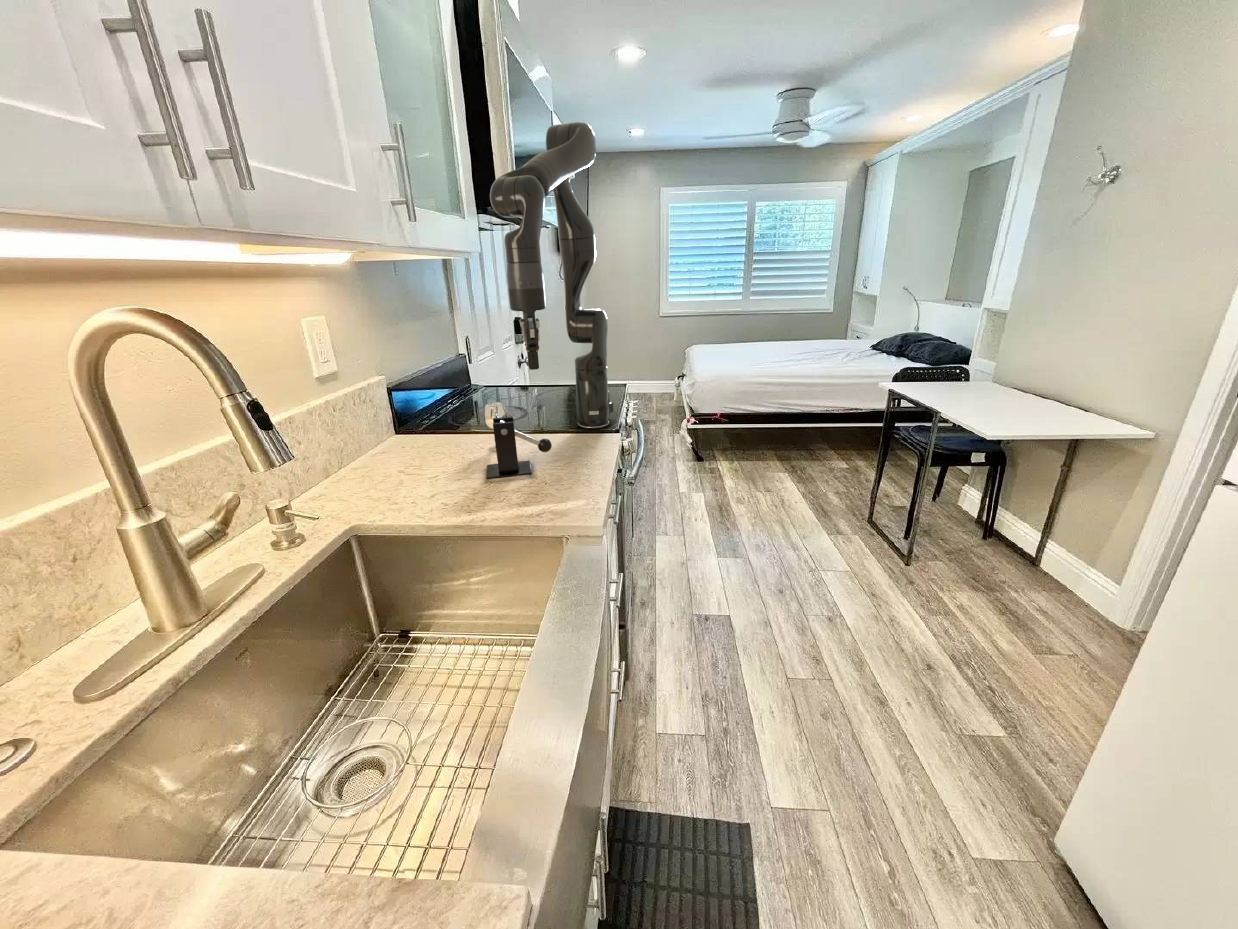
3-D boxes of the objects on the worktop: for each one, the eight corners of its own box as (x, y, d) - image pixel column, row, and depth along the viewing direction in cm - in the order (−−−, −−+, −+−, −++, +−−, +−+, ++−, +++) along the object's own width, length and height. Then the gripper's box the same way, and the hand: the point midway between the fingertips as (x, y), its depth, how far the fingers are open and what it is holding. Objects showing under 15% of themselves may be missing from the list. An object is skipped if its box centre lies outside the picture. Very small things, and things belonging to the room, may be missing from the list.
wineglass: (505, 453, 126) (500, 408, 121) (484, 452, 127) (478, 407, 123) (514, 445, 131) (509, 402, 127) (494, 444, 132) (488, 401, 128)
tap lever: (547, 451, 115) (553, 440, 115) (548, 456, 112) (554, 444, 112) (495, 429, 111) (501, 417, 110) (495, 433, 108) (501, 421, 107)
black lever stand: (530, 464, 118) (525, 413, 113) (532, 477, 111) (526, 423, 106) (487, 469, 116) (480, 417, 111) (486, 482, 109) (479, 427, 104)
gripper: (547, 286, 97) (554, 373, 104) (541, 284, 109) (548, 362, 116) (508, 288, 96) (518, 376, 102) (507, 285, 107) (515, 364, 114)
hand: (534, 368), depth 109 cm, fingers closed
